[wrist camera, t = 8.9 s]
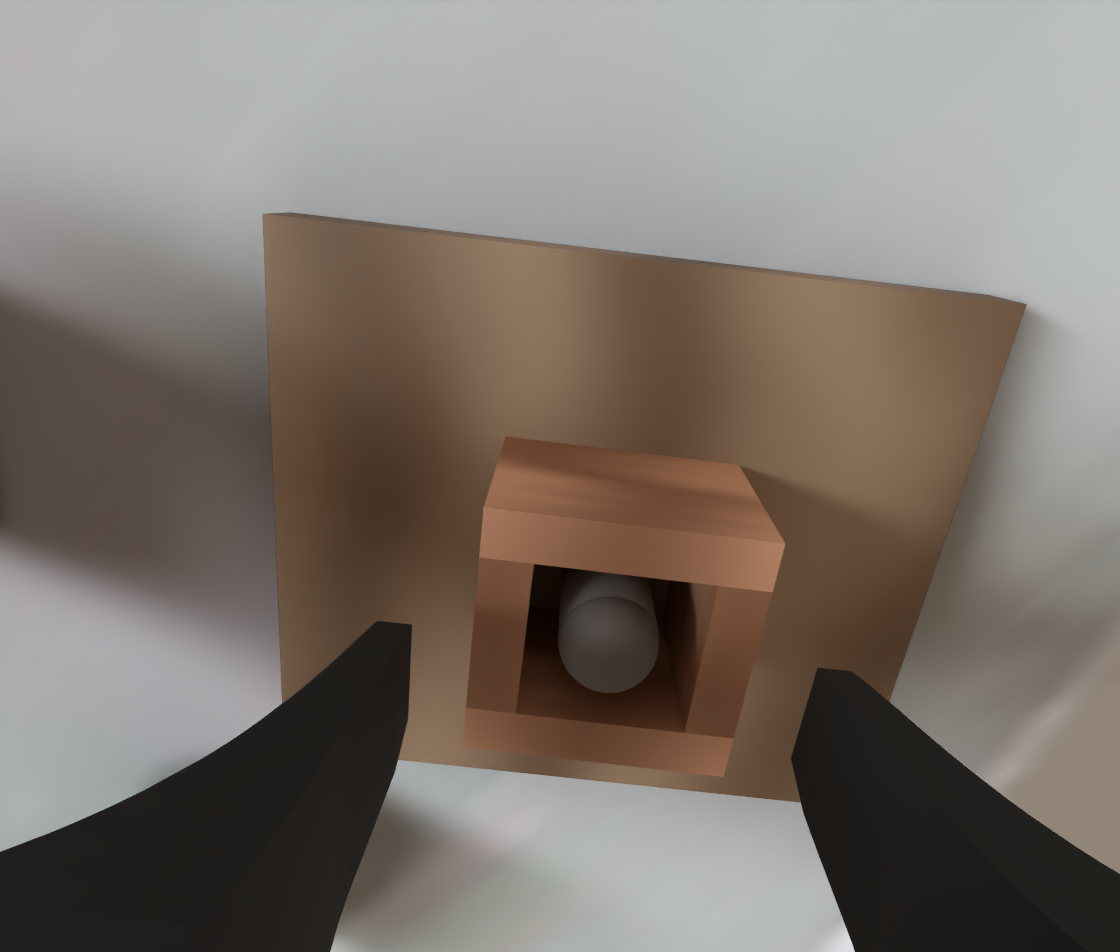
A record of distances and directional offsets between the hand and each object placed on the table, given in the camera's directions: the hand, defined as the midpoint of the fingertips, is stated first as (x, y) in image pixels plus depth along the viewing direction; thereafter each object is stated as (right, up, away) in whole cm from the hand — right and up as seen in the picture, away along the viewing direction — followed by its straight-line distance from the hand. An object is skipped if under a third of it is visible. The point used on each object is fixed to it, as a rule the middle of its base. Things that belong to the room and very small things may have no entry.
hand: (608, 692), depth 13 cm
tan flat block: (0, +2, +6) cm, 7 cm away
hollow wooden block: (0, +2, +5) cm, 5 cm away
